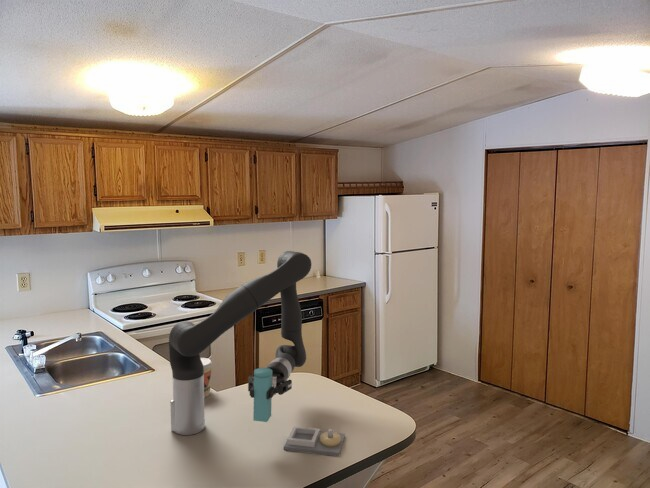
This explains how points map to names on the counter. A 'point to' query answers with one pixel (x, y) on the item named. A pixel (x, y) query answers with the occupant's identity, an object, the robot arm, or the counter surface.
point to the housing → (315, 441)
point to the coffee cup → (207, 375)
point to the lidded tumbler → (262, 394)
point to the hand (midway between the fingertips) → (259, 395)
